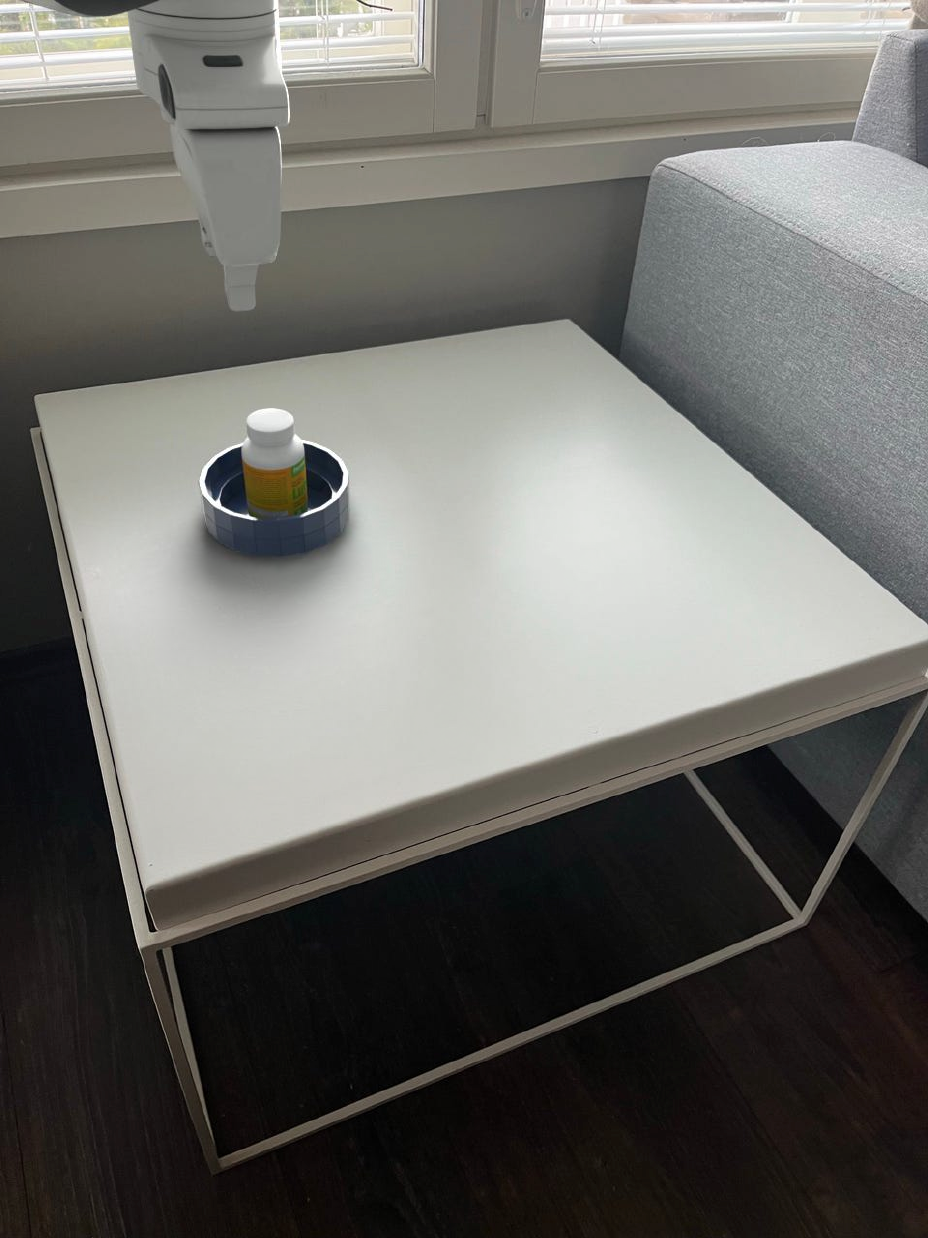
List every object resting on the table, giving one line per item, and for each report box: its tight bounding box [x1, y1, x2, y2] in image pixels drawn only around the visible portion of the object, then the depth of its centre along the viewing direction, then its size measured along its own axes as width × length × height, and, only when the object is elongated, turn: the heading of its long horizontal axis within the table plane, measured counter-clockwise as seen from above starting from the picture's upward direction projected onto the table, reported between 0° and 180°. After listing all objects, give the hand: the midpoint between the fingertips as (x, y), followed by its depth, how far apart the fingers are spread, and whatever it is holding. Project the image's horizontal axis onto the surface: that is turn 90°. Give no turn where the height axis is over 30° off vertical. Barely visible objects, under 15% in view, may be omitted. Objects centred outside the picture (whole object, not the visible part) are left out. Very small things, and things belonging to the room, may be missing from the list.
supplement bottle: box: [242, 407, 308, 518], centre depth 85 cm, size 5×5×10 cm
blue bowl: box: [198, 439, 351, 558], centre depth 88 cm, size 13×13×4 cm
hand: (228, 278), depth 69 cm, fingers open, 8 cm apart
